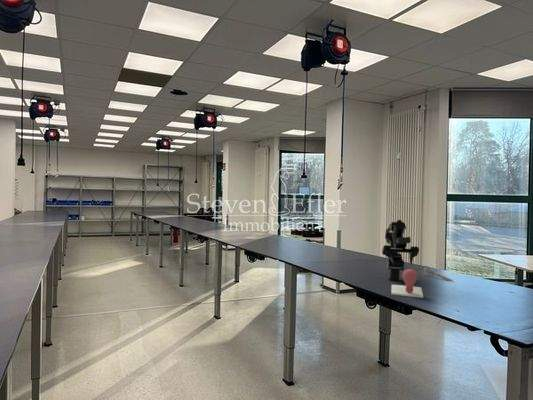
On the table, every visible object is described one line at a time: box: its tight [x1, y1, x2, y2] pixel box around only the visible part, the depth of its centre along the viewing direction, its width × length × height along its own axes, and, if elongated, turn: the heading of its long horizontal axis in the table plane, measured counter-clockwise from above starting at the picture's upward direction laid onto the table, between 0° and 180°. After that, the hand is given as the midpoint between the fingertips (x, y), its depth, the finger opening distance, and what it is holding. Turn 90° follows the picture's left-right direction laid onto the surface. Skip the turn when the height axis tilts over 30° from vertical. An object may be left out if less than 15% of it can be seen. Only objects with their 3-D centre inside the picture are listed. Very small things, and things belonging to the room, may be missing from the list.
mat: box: [390, 284, 424, 299], centre depth 203 cm, size 19×15×1 cm
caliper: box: [423, 265, 454, 283], centre depth 238 cm, size 20×1×6 cm, turn 30°
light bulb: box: [401, 268, 418, 293], centre depth 198 cm, size 7×7×12 cm
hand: (402, 263), depth 210 cm, fingers open, 9 cm apart
